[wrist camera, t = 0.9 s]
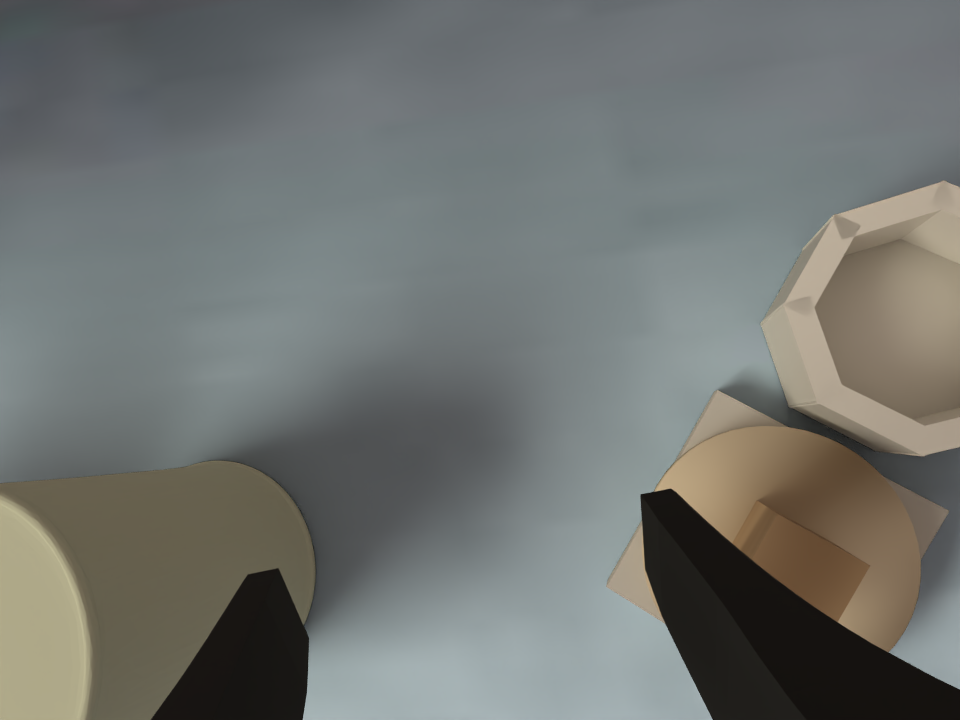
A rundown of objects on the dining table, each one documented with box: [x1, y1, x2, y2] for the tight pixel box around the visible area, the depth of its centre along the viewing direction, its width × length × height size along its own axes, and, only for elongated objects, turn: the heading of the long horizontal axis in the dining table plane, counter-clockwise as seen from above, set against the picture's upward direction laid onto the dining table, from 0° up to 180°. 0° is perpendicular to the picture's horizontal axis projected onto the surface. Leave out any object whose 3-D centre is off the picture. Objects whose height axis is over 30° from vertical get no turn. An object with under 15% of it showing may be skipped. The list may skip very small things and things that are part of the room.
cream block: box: [606, 390, 949, 623], centre depth 23 cm, size 8×8×1 cm
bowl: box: [761, 180, 960, 457], centre depth 21 cm, size 8×8×4 cm
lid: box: [642, 426, 921, 652], centre depth 20 cm, size 8×8×4 cm
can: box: [0, 461, 316, 720], centre depth 23 cm, size 9×9×12 cm
